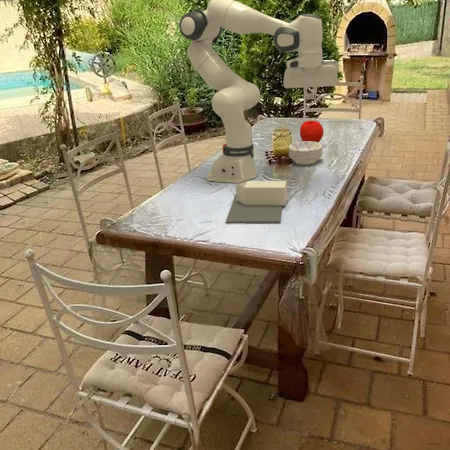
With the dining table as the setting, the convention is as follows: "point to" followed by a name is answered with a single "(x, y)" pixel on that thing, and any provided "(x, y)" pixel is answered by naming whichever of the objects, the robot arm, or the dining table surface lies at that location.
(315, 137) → the apple
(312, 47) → the robot arm
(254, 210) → the mat
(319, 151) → the paper bowls
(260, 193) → the milk carton
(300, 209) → the dining table surface
